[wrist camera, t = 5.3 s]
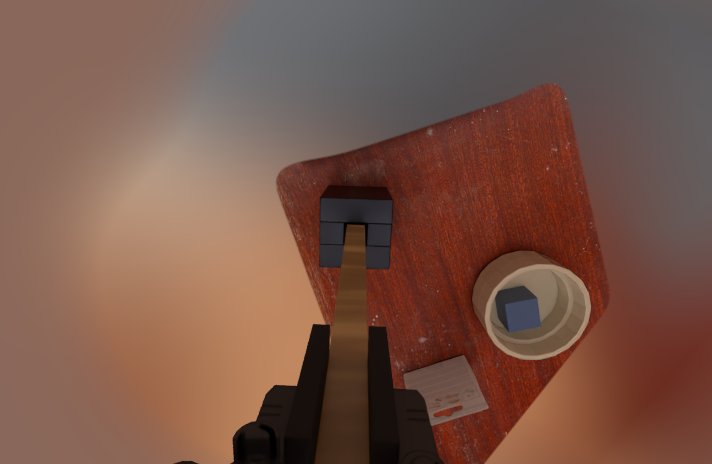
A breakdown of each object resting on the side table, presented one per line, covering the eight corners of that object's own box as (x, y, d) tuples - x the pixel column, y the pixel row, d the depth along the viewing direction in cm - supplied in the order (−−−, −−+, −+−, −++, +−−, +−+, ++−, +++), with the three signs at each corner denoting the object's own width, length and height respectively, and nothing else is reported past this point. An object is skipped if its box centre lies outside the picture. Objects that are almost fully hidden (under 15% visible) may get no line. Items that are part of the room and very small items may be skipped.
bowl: (476, 247, 50) (491, 262, 44) (571, 251, 49) (599, 266, 44) (466, 333, 53) (479, 357, 47) (556, 336, 52) (580, 361, 47)
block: (493, 291, 50) (504, 304, 46) (524, 285, 50) (537, 297, 46) (498, 318, 51) (509, 333, 47) (527, 312, 51) (541, 326, 47)
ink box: (470, 367, 54) (498, 427, 43) (408, 387, 55) (419, 450, 44) (464, 350, 53) (491, 406, 42) (401, 370, 54) (411, 431, 43)
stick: (347, 224, 38) (300, 551, 9) (364, 225, 38) (372, 554, 9) (346, 241, 39) (301, 599, 10) (364, 242, 39) (369, 602, 10)
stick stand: (328, 185, 48) (320, 197, 38) (386, 187, 48) (393, 199, 38) (327, 241, 50) (319, 267, 40) (384, 243, 50) (389, 269, 40)
